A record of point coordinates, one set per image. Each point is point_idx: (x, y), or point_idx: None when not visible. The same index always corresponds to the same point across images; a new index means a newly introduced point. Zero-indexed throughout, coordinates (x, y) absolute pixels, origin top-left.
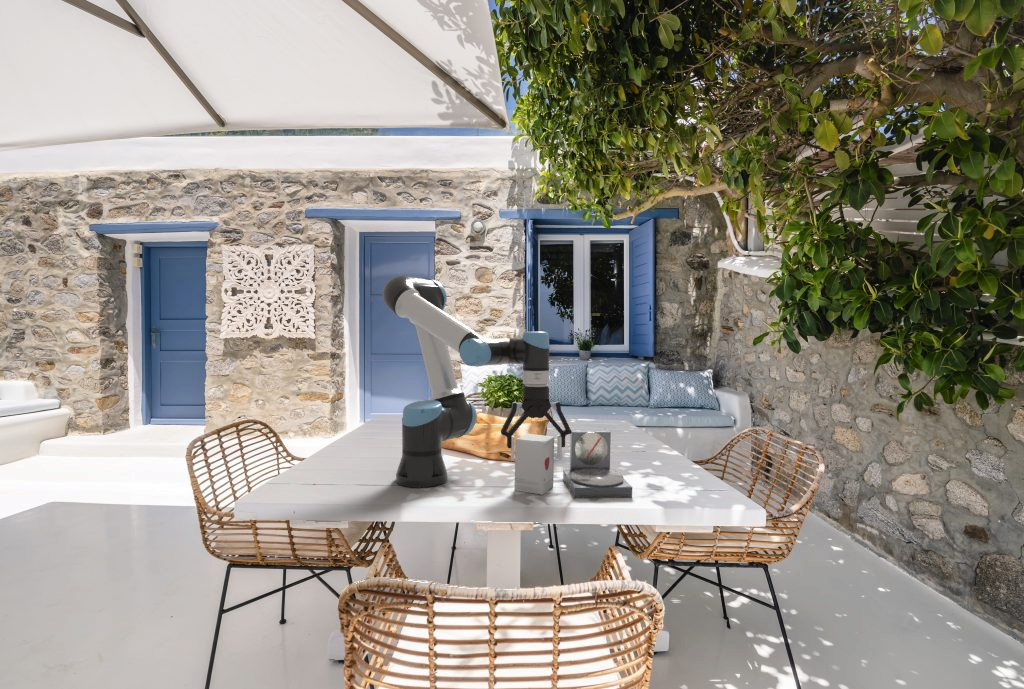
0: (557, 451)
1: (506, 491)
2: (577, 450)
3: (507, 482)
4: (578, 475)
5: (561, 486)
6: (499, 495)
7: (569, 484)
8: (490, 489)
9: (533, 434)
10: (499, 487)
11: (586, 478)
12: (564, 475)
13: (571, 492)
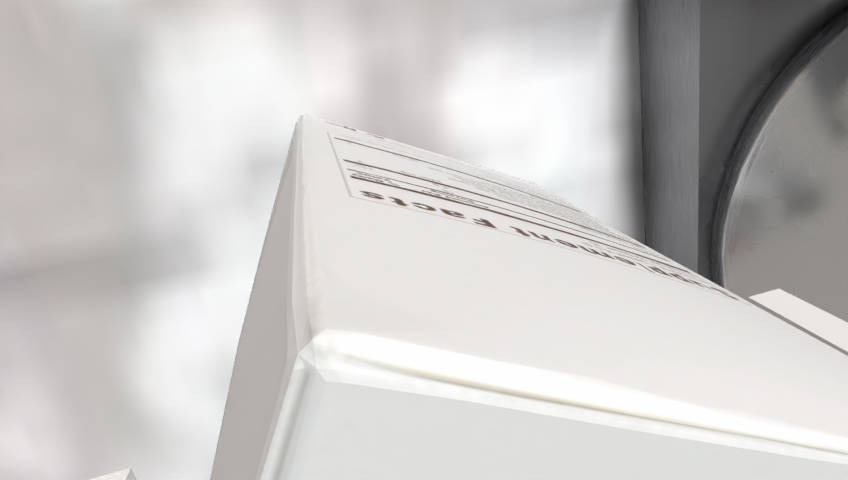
0: (817, 337)
1: (176, 378)
2: None
3: (108, 133)
4: (791, 240)
5: (599, 161)
6: (148, 471)
7: (670, 245)
8: (17, 366)
9: (583, 461)
10: (80, 298)
11: (826, 308)
12: (673, 8)
13: None
